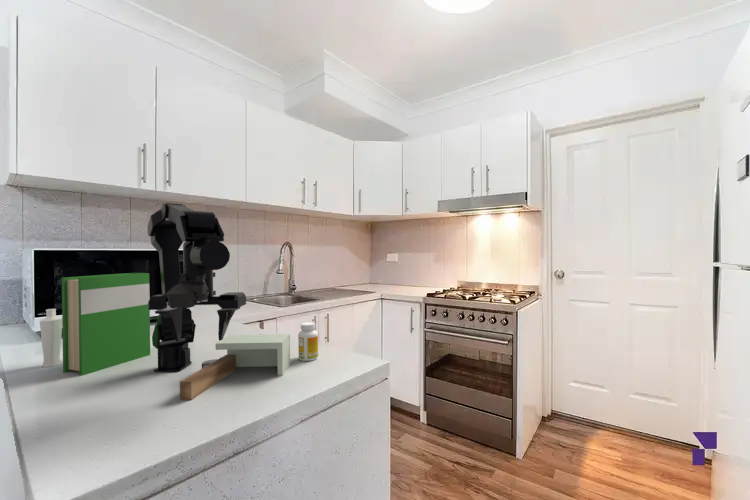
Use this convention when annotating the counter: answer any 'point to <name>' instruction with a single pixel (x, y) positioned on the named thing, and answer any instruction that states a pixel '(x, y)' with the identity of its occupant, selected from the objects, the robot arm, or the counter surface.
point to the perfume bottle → (51, 338)
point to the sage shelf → (258, 350)
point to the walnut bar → (206, 377)
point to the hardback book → (104, 320)
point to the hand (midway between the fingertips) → (199, 340)
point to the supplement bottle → (308, 342)
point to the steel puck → (208, 362)
